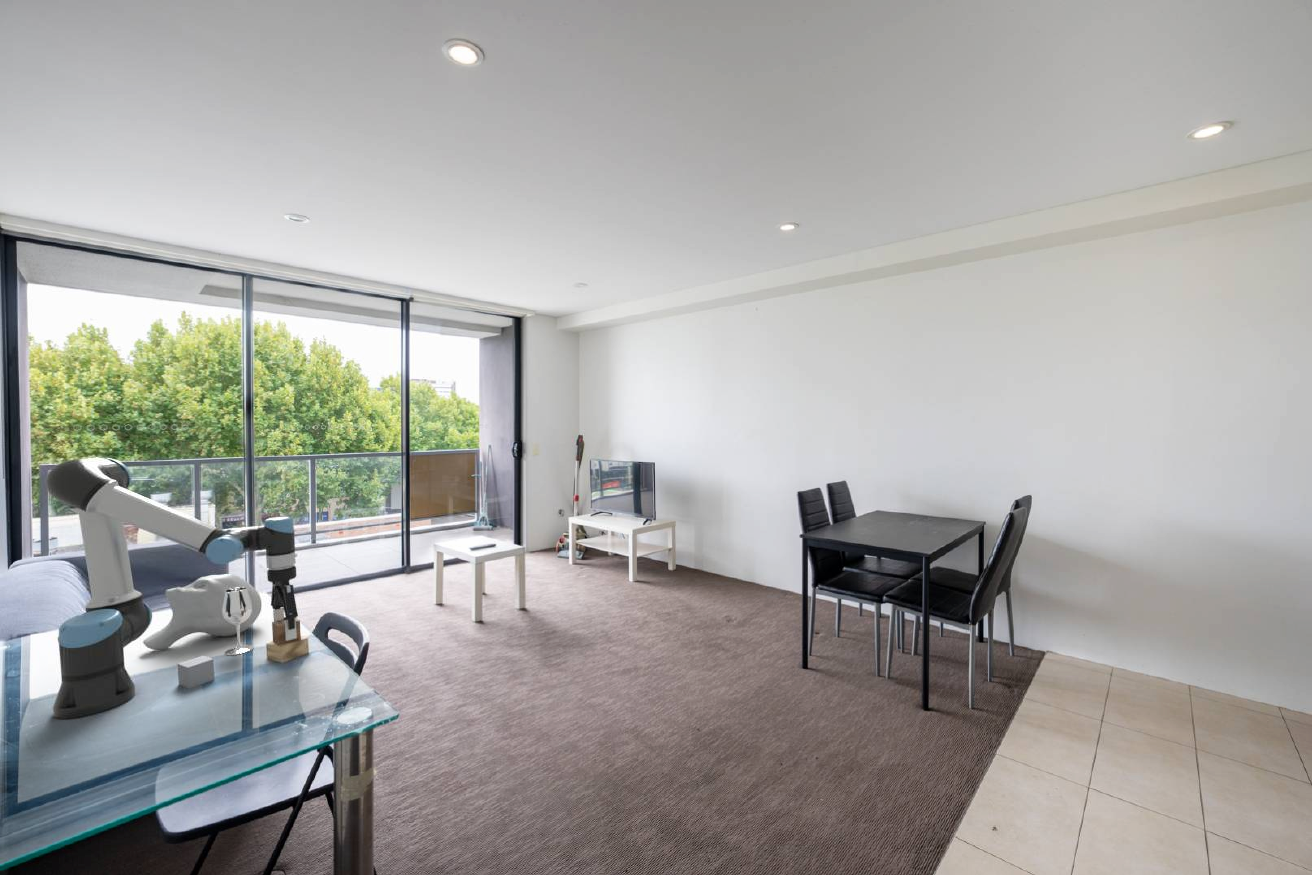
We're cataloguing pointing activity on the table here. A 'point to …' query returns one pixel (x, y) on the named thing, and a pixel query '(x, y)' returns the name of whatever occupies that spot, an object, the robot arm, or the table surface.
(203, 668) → the grey block
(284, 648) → the base block
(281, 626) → the walnut block
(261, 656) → the table surface
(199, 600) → the alien head
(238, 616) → the wineglass
